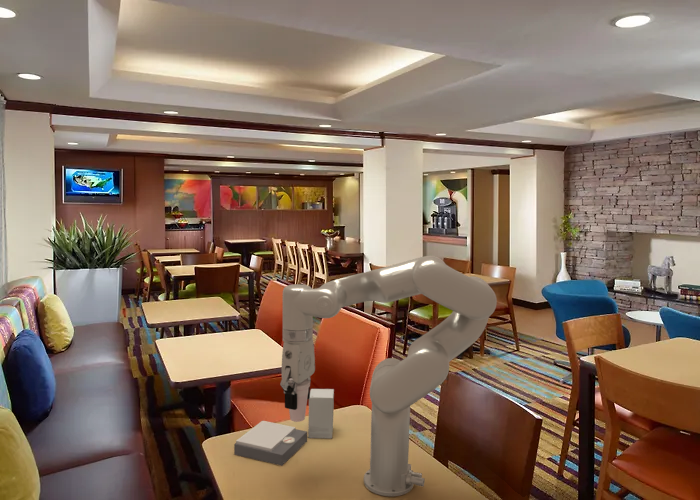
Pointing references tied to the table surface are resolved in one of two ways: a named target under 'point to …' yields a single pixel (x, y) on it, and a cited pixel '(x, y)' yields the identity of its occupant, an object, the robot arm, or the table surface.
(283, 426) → the scale
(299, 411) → the smoothie
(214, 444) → the table surface
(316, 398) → the supplement box
